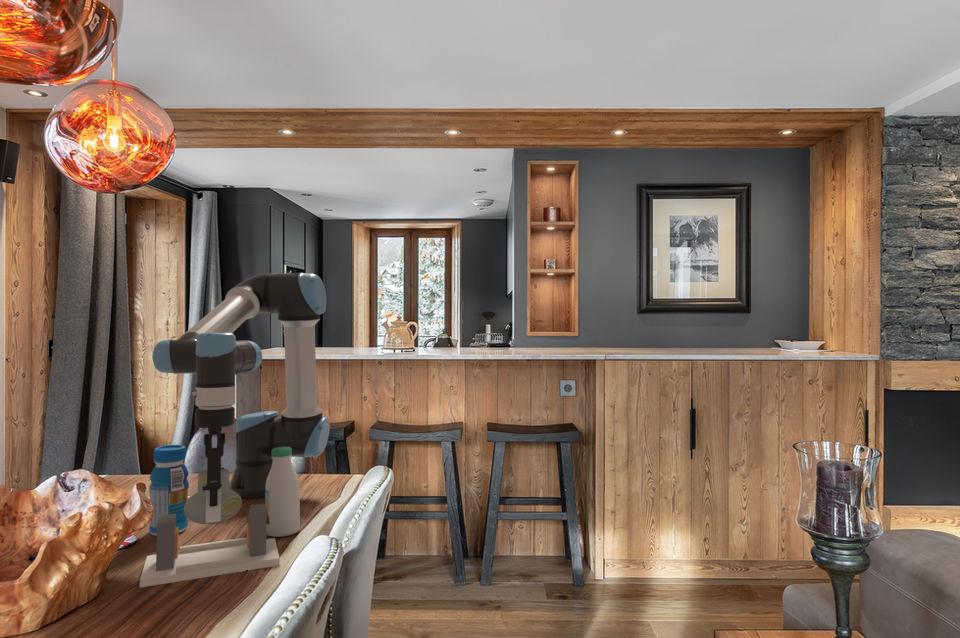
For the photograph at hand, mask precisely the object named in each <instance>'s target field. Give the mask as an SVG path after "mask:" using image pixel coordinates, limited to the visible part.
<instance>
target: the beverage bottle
mask: <svg viewBox="0 0 960 638" xmlns="http://www.w3.org/2000/svg"><path fill="white" fill-rule="evenodd" d="M185 460H186V446H185V445H182V444H166V445H162V446H157V447H155V448H154V449H153V463H154V464H155V466H154V468H153V469H152V470H151V473H150V475H149V480H150V485H149V487H148V493H149V502H150V501H151V503H152V505H153V510H154V514H153V519H152V520H151V522H150V521H149V527H148V532H149V534H150V535H152V536H155V537H157V522H158V519H159V516H160V515H168V514H176V527H179V534H180V533H182V532H184V531H185V530H187V528H188V526H189V524H188V523H189V521H188V520H189V519H188V518H187V517H186V515H185V514H184V505H185V503H186V502H187V500H188V499H189V498H188V497H189V494H188V493H189V488H190V482H189V481H188V477H189V469H188V468H187V466H186V465H185V463H184V461H185Z"/></svg>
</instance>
